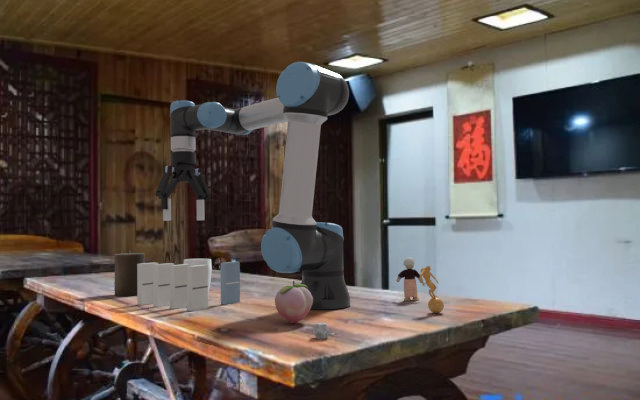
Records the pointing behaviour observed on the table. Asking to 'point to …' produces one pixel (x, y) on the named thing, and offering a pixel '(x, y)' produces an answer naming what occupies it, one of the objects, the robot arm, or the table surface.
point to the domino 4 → (197, 287)
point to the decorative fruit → (293, 302)
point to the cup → (201, 262)
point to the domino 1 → (145, 283)
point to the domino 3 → (178, 286)
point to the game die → (321, 331)
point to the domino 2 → (161, 284)
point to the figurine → (431, 291)
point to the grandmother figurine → (409, 280)
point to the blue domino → (230, 282)
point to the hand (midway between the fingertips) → (184, 220)
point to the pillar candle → (127, 273)
